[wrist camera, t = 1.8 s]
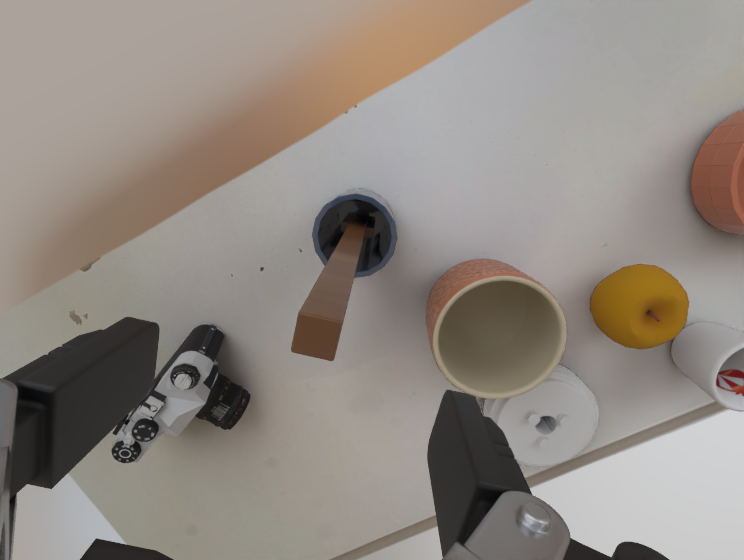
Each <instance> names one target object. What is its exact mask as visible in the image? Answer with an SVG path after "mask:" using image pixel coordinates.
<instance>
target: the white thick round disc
mask: <svg viewBox="0 0 744 560" xmlns="http://www.w3.org/2000/svg"><path fill="white" fill-rule="evenodd" d="M483 411H484V416H486V417H490V418H491V419H492V420H493V421H494V422H495V423H496V424H497V425H498V426H499V427H500V428H501V429H502V430H503V432H504V434H505V436H506V439H507V441H508V443H509V447H511V450H512V452H513V454H514V456H515V457H514V459H516V460H517V463H518V464H521V465H525V466H530V467H548V466H553V465H557V464H560V463H563V462H565V461H567V460H569V459H571V458H573V457H574V456H576V455H577V454H579V453H580V452H581V451H582V450H583V449H584V448H585V447H586V446H587V445H588V444H589V442H590V441H591V440H592V438H593V436H594V434H595V432H596V429H597V426H598V421H599V410H598V405H597V401H596V399H595V397H594V395H593V393H592V392H591V391H590V389H589V388H588V387H587V386H586V385H585V384H584V383H583V382H582V381H581V380H580V379H579V378H578V376H577V375H576V374H574V373H573V372H572V371H571V370H569V369H567V368H566V367H564V366H561V365H559V364H558V365H557V367H556V368H555V370H554V371H553V372H552V374H551V375H550V376H549V377H548V378H547V379H546V380H545V381H544V382H542V383H541V384H540V385H538V386H537V387H535V388H534V389H532V390H530V391H528V392H526V393H524V394H521V395H518V396H515V397H511V398H506V399H485V402H484V410H483Z"/></svg>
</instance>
